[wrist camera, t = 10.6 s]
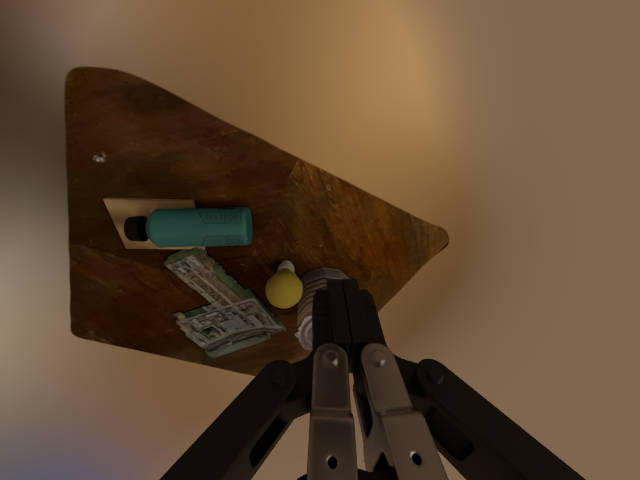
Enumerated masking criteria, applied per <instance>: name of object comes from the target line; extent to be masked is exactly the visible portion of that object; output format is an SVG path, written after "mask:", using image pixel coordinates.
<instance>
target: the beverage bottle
mask: <svg viewBox="0 0 640 480" xmlns="http://www.w3.org/2000/svg"><path fill="white" fill-rule="evenodd" d="M124 233H125V236H126V238H127V239H128V240H130V241H139V242H145V241H147V240H148V239H150V240H151V242H152V243H153V244H154V245H156V246H157V247H159V248H163V247H192V246H196V247H199V248H200V247H202V246H216V247H217V246H220V247H221V246H228V247H232V245H239V246H240V245H242V246H244V245H245V246H246V245H248V244H250V243H251V240H252V217H251V211H250V209H249V208H246V207H242V206H239V207H238V206H237V207H235V206H226V208H219V207H218V208H214V207H213V208H212V207H208V208H207V207H205V208H196V207H195V208H181V209H160V208H159V209H155V210H154V211H153V212H152V213H151V214H150V215H149V217H148V218H147V217H145V216H133V217H128V218H127V219H126V220H125V223H124Z"/></svg>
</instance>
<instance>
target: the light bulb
mask: <svg viewBox="0 0 640 480" xmlns="http://www.w3.org/2000/svg"><path fill="white" fill-rule="evenodd" d="M302 294H303V285H302V282H301V281H300V279H299V278H298V277H297V275H296V274H295V273H294V266H293V265H292V263H291V262H290V261H287V260H286V261H283V262H282V263H281V264H280V265H279V267H278V272H276V273H275V274H274V275H273V276H272V277H271V278H270V279H269V280H268V282H267V284H266V296H267V298H268V300H269V302H270V303H271V304H272V305H274V306H276V307H278V308H290V307H292V306H294V305H295V304H296V303H298V302H299V300H300V298H301V297H302Z"/></svg>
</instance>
